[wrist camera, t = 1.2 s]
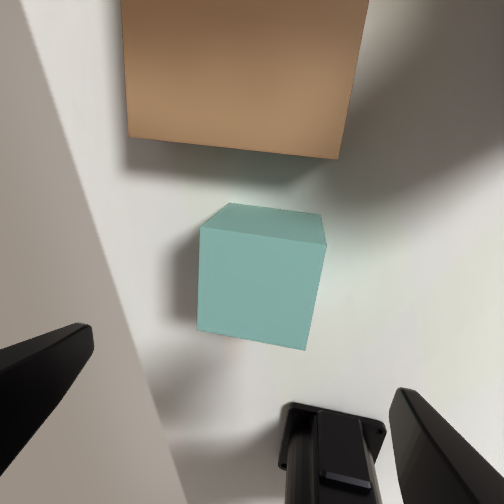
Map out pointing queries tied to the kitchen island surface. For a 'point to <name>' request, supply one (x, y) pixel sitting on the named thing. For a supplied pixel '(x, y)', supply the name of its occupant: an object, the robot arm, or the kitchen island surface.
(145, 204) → the kitchen island surface
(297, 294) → the teal cube
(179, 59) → the walnut plinth
